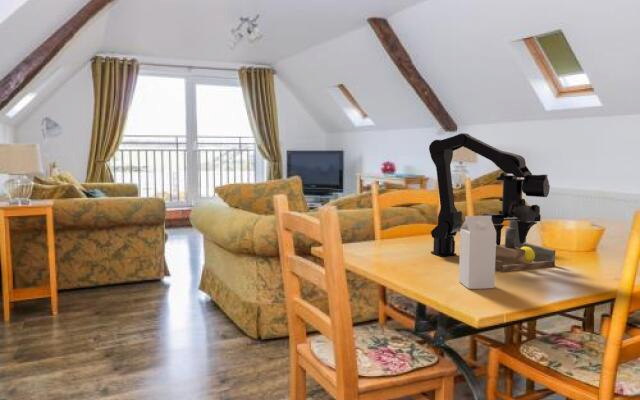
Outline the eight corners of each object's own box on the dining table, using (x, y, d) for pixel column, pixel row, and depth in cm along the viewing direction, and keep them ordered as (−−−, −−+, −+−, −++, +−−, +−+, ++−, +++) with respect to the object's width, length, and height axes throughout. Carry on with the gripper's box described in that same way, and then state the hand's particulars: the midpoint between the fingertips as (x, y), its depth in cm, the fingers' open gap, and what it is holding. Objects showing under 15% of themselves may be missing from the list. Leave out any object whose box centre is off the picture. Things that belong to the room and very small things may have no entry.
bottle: (525, 248, 185) (526, 207, 183) (526, 251, 179) (527, 209, 177) (508, 247, 187) (509, 207, 185) (508, 250, 181) (510, 208, 179)
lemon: (535, 267, 158) (536, 251, 157) (517, 266, 160) (518, 250, 158) (533, 259, 165) (534, 243, 163) (515, 258, 166) (516, 243, 165)
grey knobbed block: (514, 267, 155) (515, 231, 153) (494, 261, 163) (495, 226, 162) (524, 266, 156) (526, 230, 155) (504, 260, 164) (505, 226, 163)
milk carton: (458, 282, 139) (460, 214, 137) (483, 281, 140) (485, 213, 138) (468, 289, 132) (470, 218, 130) (494, 288, 133) (497, 217, 131)
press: (500, 271, 150) (500, 255, 150) (472, 262, 162) (473, 247, 162) (554, 265, 158) (555, 250, 157) (524, 257, 170) (525, 242, 169)
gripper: (505, 198, 146) (503, 251, 148) (555, 196, 153) (552, 247, 154) (481, 195, 157) (479, 244, 158) (528, 193, 163) (526, 240, 165)
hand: (510, 244), depth 159 cm, fingers open, 9 cm apart
